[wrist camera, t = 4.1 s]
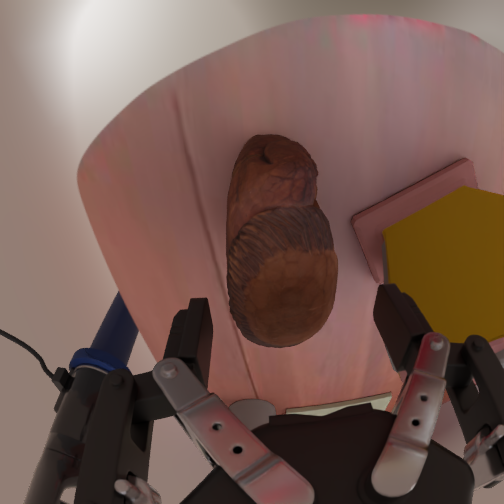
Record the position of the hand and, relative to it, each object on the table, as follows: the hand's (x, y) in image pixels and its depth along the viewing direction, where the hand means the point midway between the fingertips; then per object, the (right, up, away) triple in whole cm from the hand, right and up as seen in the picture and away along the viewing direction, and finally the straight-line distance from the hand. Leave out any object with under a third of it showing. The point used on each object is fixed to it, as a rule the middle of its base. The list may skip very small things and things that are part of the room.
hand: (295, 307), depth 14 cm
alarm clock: (+18, +7, +17) cm, 26 cm away
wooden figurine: (-1, +9, +16) cm, 18 cm away
